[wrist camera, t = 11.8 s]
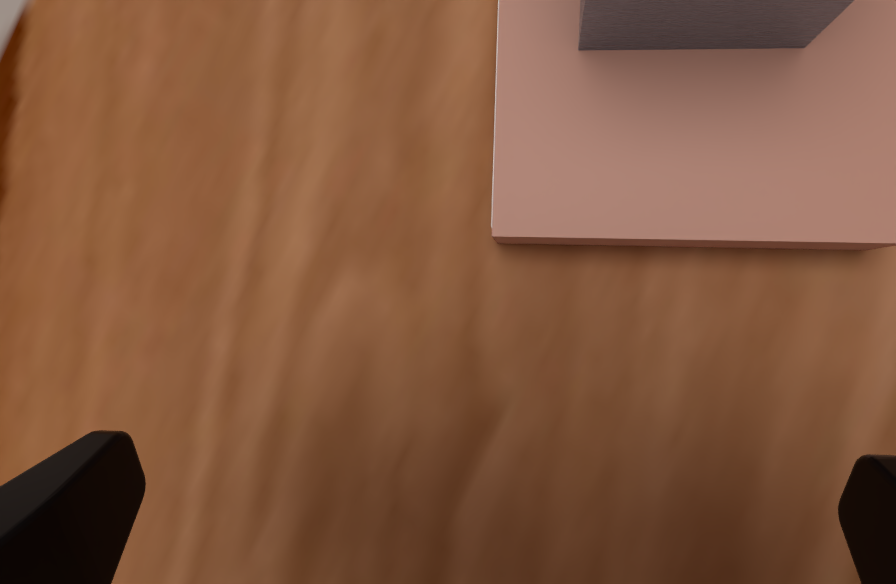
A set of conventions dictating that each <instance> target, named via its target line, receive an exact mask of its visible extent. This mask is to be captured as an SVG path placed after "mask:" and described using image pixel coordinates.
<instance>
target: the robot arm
mask: <svg viewBox="0 0 896 584" xmlns="http://www.w3.org/2000/svg"><path fill="white" fill-rule="evenodd" d="M145 485H146V483H145V475H144V472H143V470H142V467H141V464H140V461H139V458H138V455H137V452H136V449H135V446H134V443H133V440H132V438H131V436H130V435H129V434H128V433H126V432H123V431H103V430H99V431H93V432H90V433H89V434H87V435H85V436H83V437H82V438H80V439H78V440H77V441H75V442H73V443H72V444H70V445H68V446H67V447H65V448H63V449H62V450H60V451H58V452H57V453H55V454H53V455H52V456H50V457H48V458H47V459H45V460H43V461H42V462H40V463H38V464H37V465H35V466H33V467H32V468H30V469H28V470H27V471H25V472H23V473H22V474H20V475H18V476H17V477H15V478H13V479H12V480H10V481H8V482H7V483H5V484H3V485H2V486H0V584H111V583H112V580H113V577H114V575H115V572H116V569H117V567H118V564H119V561H120V559H121V556H122V553H123V551H124V548H125V545H126V543H127V540H128V537H129V535H130V532H131V529H132V527H133V524H134V521H135V519H136V516H137V513H138V511H139V508H140V505H141V503H142V500H143V497H144V493H145ZM838 515H839V521H840V524H841V527H842V530H843V533H844V536H845V539H846V541H847V544H848V547H849V550H850V553H851V555H852V558H853V561H854V564H855V567H856V569H857V572H858V575H859V578H860V581H861V584H896V456H894V455H863V456H861V457H860V458H859V459H857V461H856V462H855V464H854V467H853V469H852V472H851V474H850V476H849V479H848V481H847V484H846V486H845V488H844V491H843V493H842V496H841V498H840V501H839V506H838Z"/></svg>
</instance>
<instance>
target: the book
mask: <svg viewBox="0 0 896 584" xmlns="http://www.w3.org/2000/svg"><path fill="white" fill-rule="evenodd" d="M579 20H580V0H498V25H497V57H496V90H495V122H494V155H493V187H492V219H491V227H492V237H493V238H494V240H495V241H496V242H497V243H509V244H563V245H616V246H669V247H722V248H776V249H829V250H869V249H876V248H882V247H889V246H896V0H854V1H853V2H852V3H851V4H850V5H849V6H848V7H847V8H846V9H845V10H844V11H843V12H842V13H841V14H840V15H839V16H838V17H836V18H835V19H834V20H833V21H832V22H831V23H830V24H829V25H828V26H827V27H826V28H825V29H824V30H823V31H822V32H821V33H820V34H819V35H818V36H817V37H816V38H815V39H814V40H813V41H811V42H810V43H809V44H808V45H807V46H806V47H805V48H772V49H675V50H578V41H579Z"/></svg>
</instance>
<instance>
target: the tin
mask: <svg viewBox="0 0 896 584" xmlns="http://www.w3.org/2000/svg"><path fill="white" fill-rule="evenodd" d="M853 1H854V0H580V20H579V41H578V50H675V49H772V48H805V47H806V46H807V45H808V44H809V43H810V42H811V41H813V40H814V39H815V38H816V37H817V36H818V35H819V34H820V33H821V32H822V31H823V30H824V29H825V28H826V27H827V26H828V25H829V24H830V23H831V22H832V21H833V20H834V19H835V18H836V17H838V16H839V15H840V14H841V13H842V12H843V11H844V10H845V9H846V8H847V7H848V6H849V5H850V4H851V3H852V2H853Z"/></svg>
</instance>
